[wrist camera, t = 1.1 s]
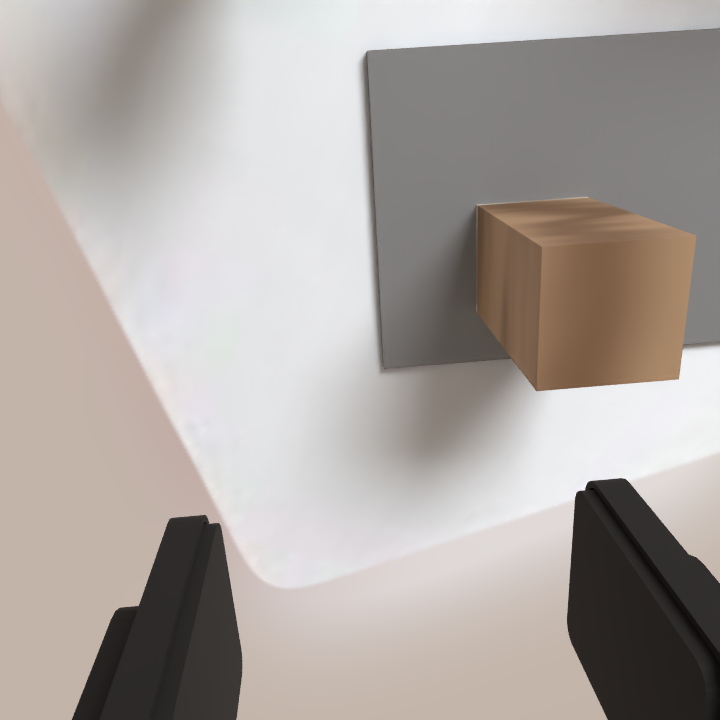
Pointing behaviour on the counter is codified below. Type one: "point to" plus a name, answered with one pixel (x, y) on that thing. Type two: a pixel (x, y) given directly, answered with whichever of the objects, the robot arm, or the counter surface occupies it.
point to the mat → (534, 165)
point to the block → (583, 291)
